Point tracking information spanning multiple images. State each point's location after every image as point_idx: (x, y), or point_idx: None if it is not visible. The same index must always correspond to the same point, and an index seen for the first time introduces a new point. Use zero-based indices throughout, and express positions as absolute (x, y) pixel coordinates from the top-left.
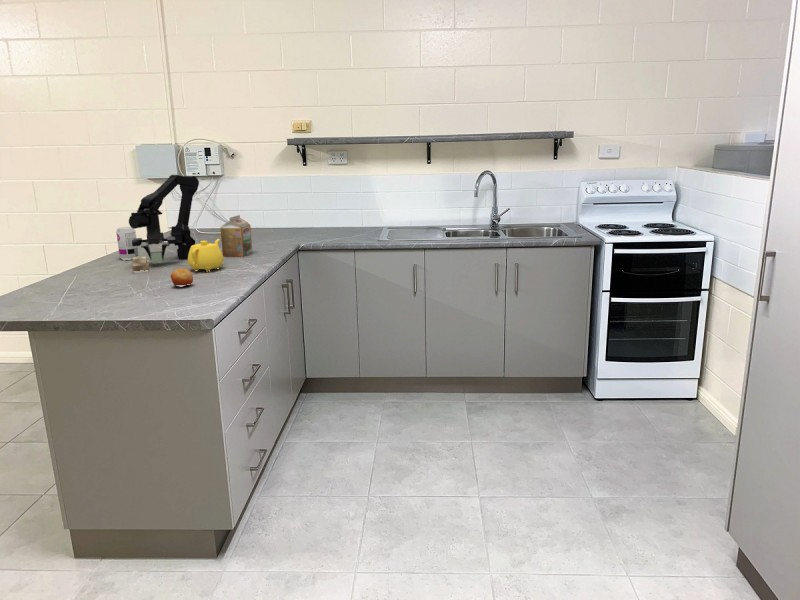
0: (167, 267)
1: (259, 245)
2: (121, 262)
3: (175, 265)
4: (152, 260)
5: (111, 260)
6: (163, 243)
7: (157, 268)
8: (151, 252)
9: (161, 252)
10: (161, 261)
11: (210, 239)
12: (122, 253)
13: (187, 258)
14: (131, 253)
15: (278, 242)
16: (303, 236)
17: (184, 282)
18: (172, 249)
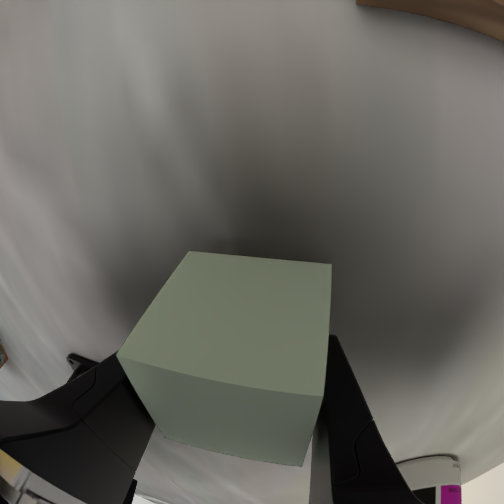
0: (130, 96)
1: (15, 392)
2: (479, 434)
3: (81, 187)
4: (314, 291)
5: (483, 460)
6: (10, 478)
7: (248, 62)
8: (300, 448)
9: (138, 390)
10: (191, 261)
11: (164, 494)
12: (456, 489)
13: (89, 364)
14: (417, 492)
15: (4, 390)
16: (4, 400)
17: None
18: (235, 495)
